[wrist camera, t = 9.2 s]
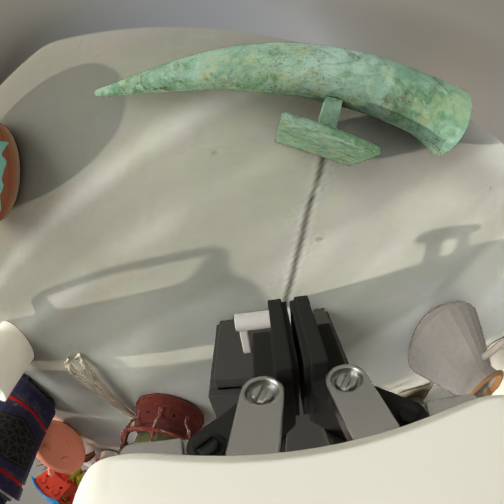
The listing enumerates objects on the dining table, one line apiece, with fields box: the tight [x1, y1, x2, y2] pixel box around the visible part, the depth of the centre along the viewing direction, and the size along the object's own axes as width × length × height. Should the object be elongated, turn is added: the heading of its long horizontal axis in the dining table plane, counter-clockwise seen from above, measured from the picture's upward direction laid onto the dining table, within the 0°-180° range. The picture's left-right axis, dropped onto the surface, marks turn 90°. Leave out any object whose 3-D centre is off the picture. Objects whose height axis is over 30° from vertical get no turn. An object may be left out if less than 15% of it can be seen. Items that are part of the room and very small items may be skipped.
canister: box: [0, 374, 55, 504], centre depth 22 cm, size 14×12×30 cm
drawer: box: [214, 306, 346, 389], centre depth 25 cm, size 16×10×8 cm, turn 7°
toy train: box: [32, 468, 86, 504], centre depth 32 cm, size 10×16×15 cm, turn 177°
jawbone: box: [65, 353, 136, 418], centre depth 33 cm, size 17×5×2 cm, turn 27°
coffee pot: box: [408, 301, 504, 398], centre depth 21 cm, size 21×12×15 cm, turn 173°
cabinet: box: [209, 312, 349, 452], centre depth 26 cm, size 14×12×10 cm
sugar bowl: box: [36, 420, 85, 477], centre depth 35 cm, size 12×14×10 cm
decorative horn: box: [95, 43, 472, 166], centre depth 17 cm, size 7×11×30 cm
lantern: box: [118, 394, 204, 455], centre depth 21 cm, size 12×12×30 cm
